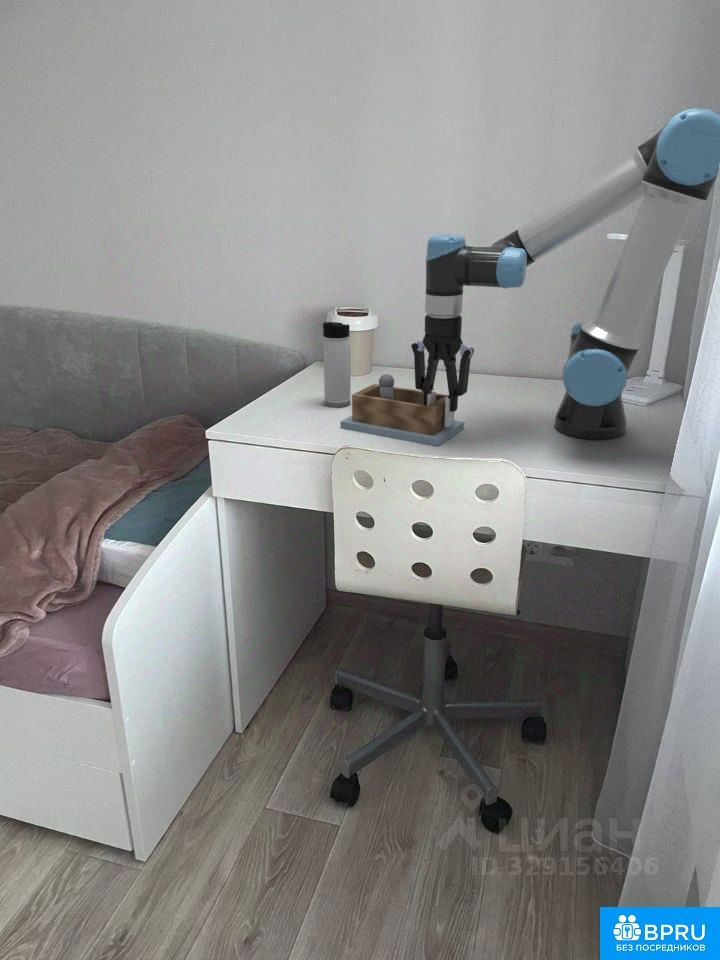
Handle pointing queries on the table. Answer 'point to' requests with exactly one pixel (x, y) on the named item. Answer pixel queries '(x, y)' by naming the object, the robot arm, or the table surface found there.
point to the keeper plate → (387, 393)
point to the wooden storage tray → (399, 410)
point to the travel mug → (336, 364)
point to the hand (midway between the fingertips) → (439, 423)
